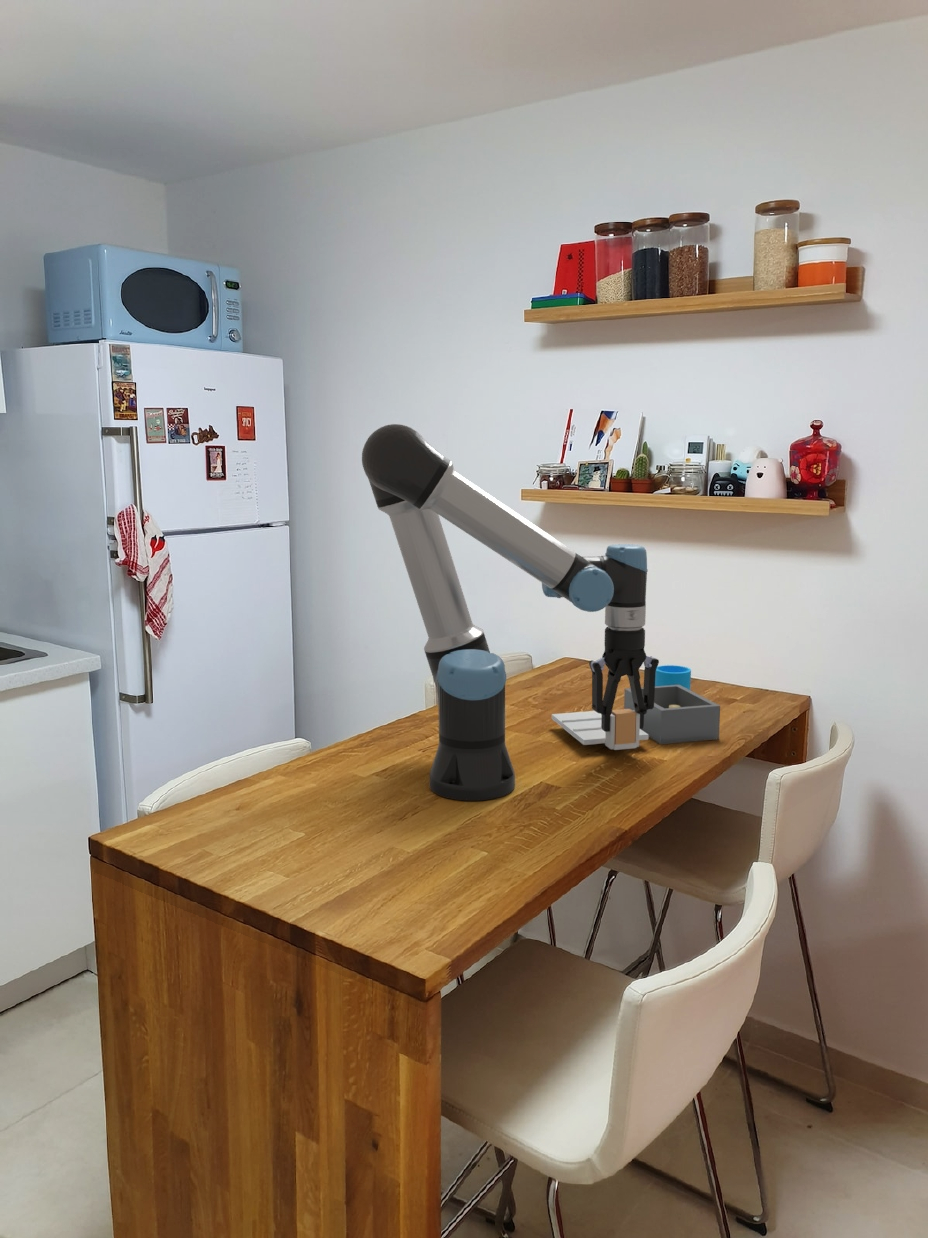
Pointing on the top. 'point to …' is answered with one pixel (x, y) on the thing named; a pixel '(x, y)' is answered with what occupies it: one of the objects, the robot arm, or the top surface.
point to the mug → (673, 676)
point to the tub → (678, 715)
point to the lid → (590, 730)
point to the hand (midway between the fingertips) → (622, 745)
